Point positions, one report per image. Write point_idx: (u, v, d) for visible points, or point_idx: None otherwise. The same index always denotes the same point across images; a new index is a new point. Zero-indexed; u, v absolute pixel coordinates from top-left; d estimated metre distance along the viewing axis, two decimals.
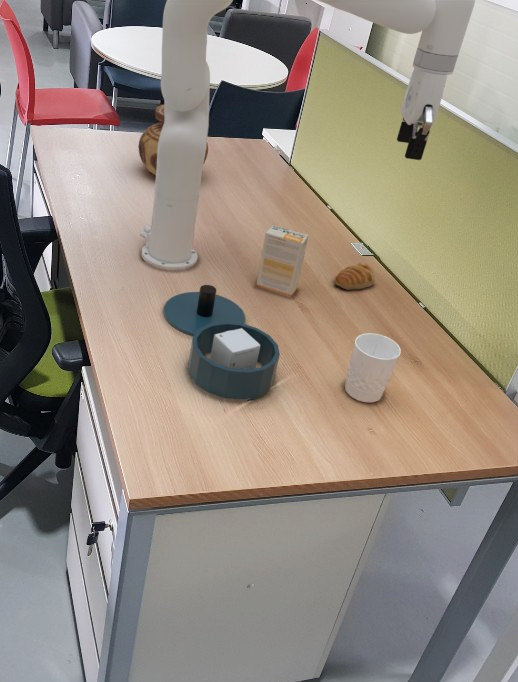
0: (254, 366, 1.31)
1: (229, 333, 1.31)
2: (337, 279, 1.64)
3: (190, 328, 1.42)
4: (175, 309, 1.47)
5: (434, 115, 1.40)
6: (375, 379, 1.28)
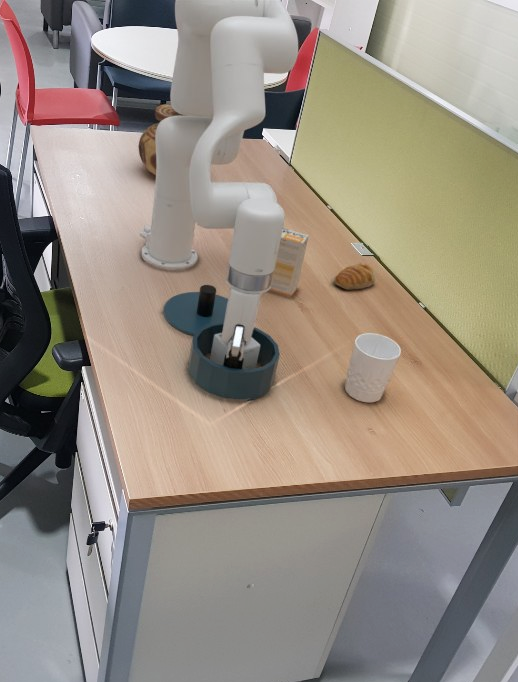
0: (254, 366, 1.31)
1: None
2: (337, 279, 1.64)
3: (190, 328, 1.42)
4: (175, 309, 1.47)
5: (248, 335, 1.22)
6: (375, 379, 1.28)
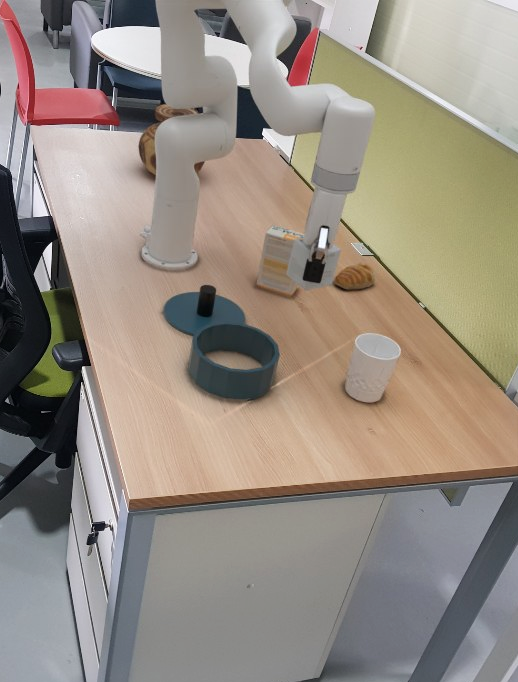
0: (333, 272, 1.32)
1: None
2: (337, 279, 1.64)
3: (190, 328, 1.42)
4: (175, 309, 1.47)
5: (332, 237, 1.24)
6: (375, 379, 1.28)
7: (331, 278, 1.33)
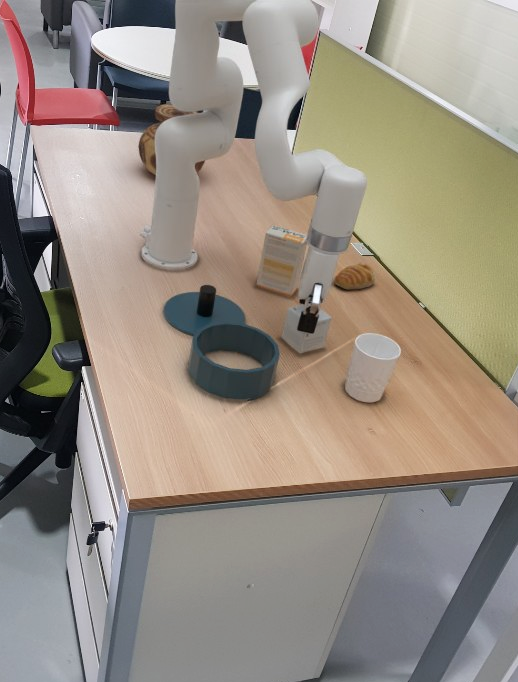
0: (324, 337, 1.42)
1: (302, 307, 1.42)
2: (337, 279, 1.64)
3: (190, 328, 1.42)
4: (175, 309, 1.47)
5: (325, 293, 1.32)
6: (375, 379, 1.28)
7: (323, 343, 1.43)
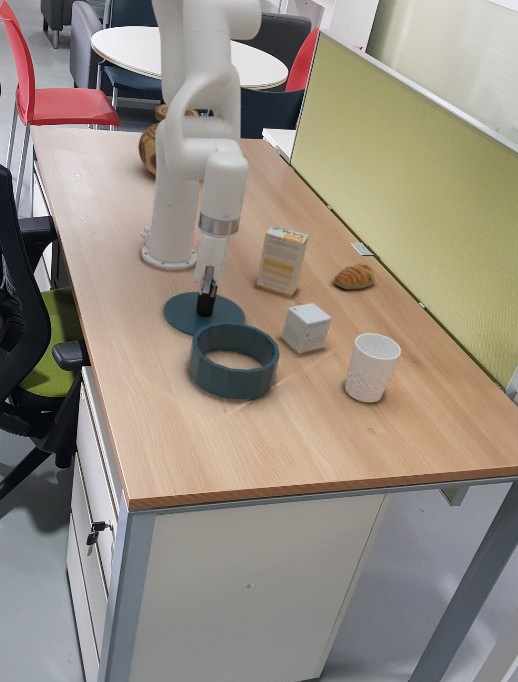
0: (324, 337, 1.42)
1: (302, 307, 1.42)
2: (337, 279, 1.64)
3: (190, 328, 1.42)
4: (175, 309, 1.47)
5: (217, 276, 1.37)
6: (375, 379, 1.28)
7: (323, 343, 1.43)
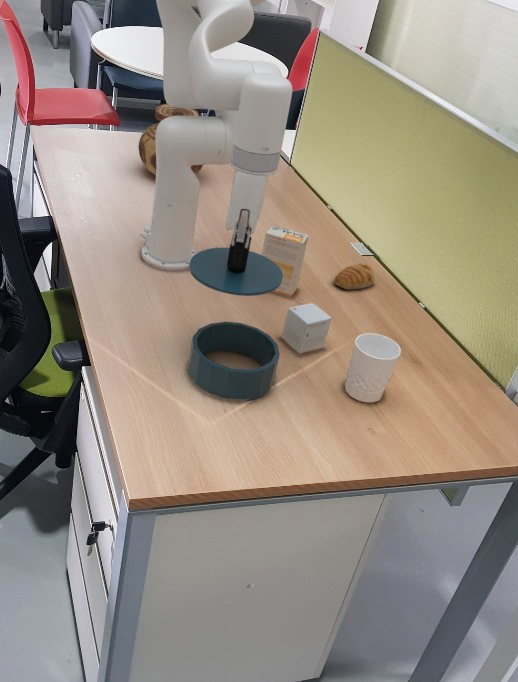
0: (324, 337, 1.42)
1: (302, 307, 1.42)
2: (337, 279, 1.64)
3: (221, 284, 1.23)
4: (202, 265, 1.28)
5: (253, 221, 1.18)
6: (375, 379, 1.28)
7: (323, 343, 1.43)
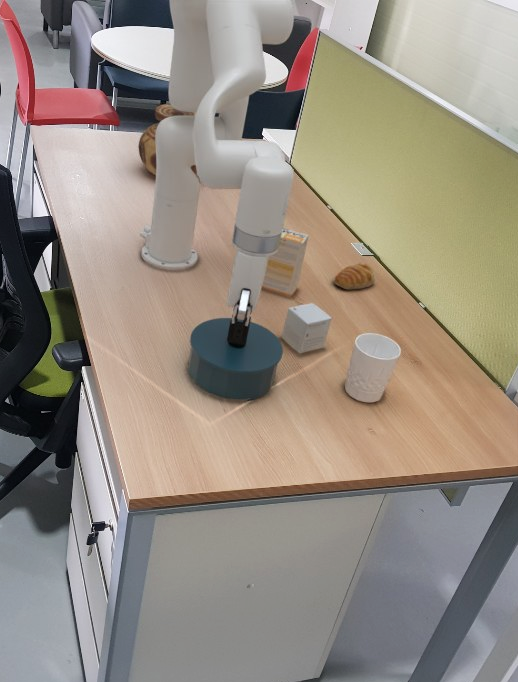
0: (324, 337, 1.42)
1: (302, 307, 1.42)
2: (337, 279, 1.64)
3: (221, 362, 1.24)
4: (203, 339, 1.29)
5: (254, 300, 1.19)
6: (375, 379, 1.28)
7: (323, 343, 1.43)
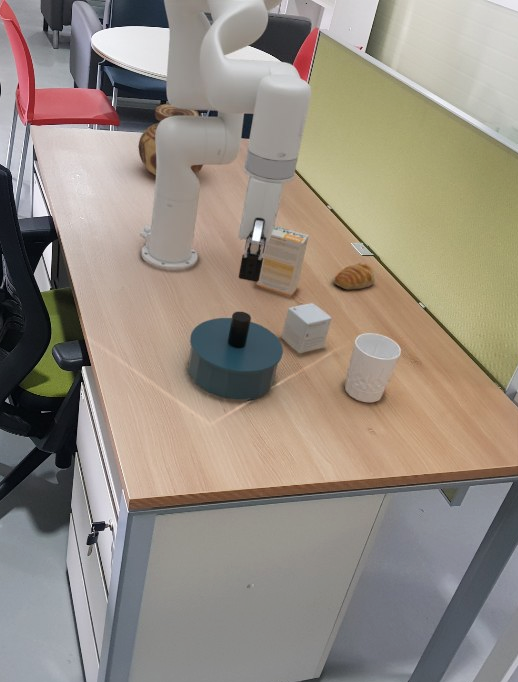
0: (324, 337, 1.42)
1: (302, 307, 1.42)
2: (337, 279, 1.64)
3: (221, 362, 1.24)
4: (203, 339, 1.29)
5: (268, 231, 1.12)
6: (375, 379, 1.28)
7: (323, 343, 1.43)
